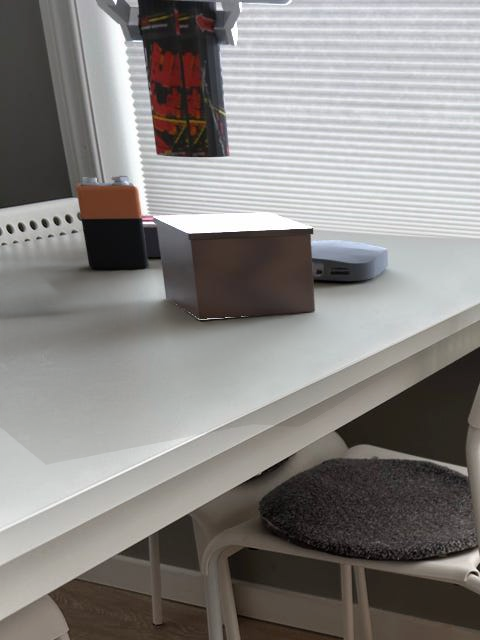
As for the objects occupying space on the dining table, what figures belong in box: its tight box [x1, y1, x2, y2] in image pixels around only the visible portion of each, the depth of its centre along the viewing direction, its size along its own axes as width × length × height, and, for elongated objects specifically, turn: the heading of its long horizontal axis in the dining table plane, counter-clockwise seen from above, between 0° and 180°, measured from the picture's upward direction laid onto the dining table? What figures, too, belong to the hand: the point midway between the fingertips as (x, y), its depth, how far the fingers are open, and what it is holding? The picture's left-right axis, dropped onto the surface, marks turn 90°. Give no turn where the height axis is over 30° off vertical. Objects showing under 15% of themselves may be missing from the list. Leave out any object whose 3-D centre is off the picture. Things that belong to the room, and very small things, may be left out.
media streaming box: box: [311, 239, 389, 282], centre depth 117 cm, size 15×15×3 cm
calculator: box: [142, 213, 203, 258], centre depth 128 cm, size 11×4×15 cm
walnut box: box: [153, 212, 316, 319], centre depth 97 cm, size 12×12×8 cm
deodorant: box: [137, 0, 230, 158], centre depth 76 cm, size 6×6×15 cm
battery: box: [75, 175, 149, 271], centre depth 114 cm, size 4×7×10 cm, turn 111°
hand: (182, 37), depth 76 cm, fingers closed on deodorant, 6 cm apart
